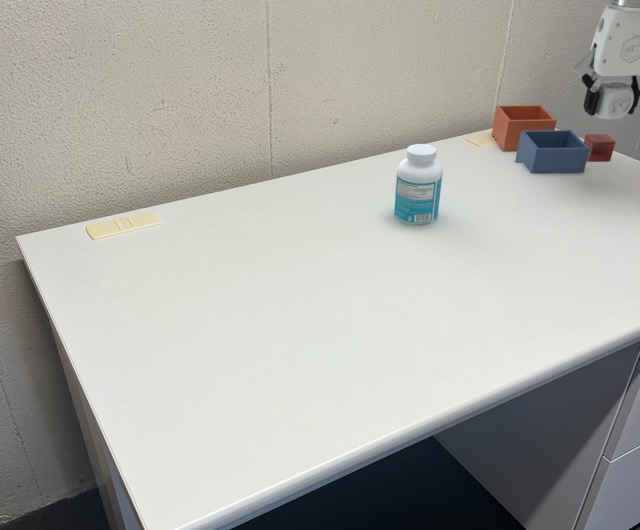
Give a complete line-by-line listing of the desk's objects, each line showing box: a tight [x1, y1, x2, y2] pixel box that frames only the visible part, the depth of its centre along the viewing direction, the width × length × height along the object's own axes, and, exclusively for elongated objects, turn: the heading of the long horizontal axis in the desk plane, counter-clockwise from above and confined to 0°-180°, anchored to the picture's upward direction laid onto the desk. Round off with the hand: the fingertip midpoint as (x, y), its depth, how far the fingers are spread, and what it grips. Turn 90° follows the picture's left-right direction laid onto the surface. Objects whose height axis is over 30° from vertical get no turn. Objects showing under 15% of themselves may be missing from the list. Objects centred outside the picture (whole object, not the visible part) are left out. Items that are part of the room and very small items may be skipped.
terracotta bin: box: [491, 104, 558, 152], centre depth 134 cm, size 10×10×7 cm
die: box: [594, 80, 634, 120], centre depth 105 cm, size 5×5×5 cm
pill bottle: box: [393, 143, 444, 227], centre depth 101 cm, size 8×7×14 cm
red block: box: [583, 133, 616, 163], centre depth 127 cm, size 4×4×4 cm
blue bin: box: [514, 129, 590, 174], centre depth 121 cm, size 10×10×7 cm
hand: (608, 111), depth 106 cm, fingers closed on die, 5 cm apart
